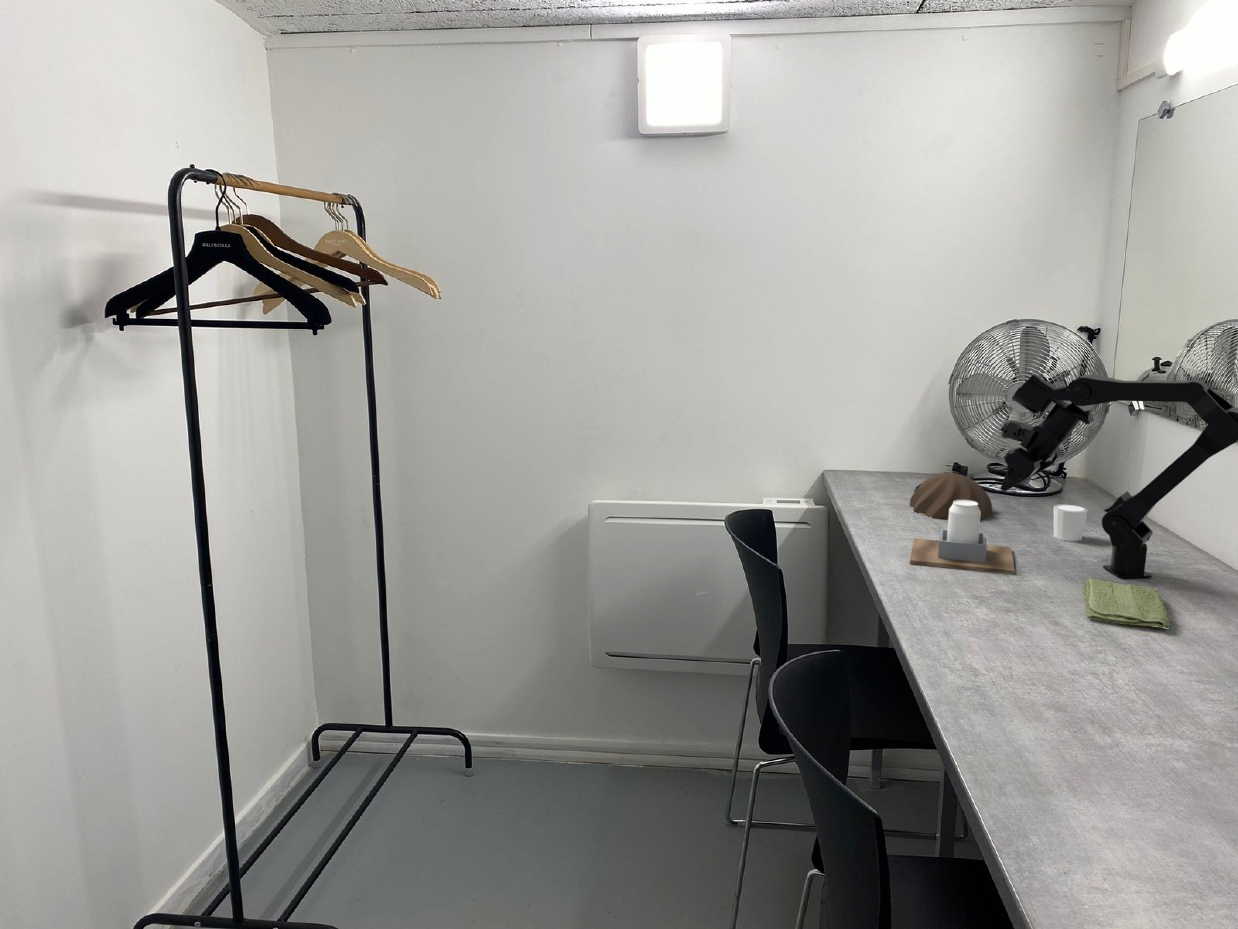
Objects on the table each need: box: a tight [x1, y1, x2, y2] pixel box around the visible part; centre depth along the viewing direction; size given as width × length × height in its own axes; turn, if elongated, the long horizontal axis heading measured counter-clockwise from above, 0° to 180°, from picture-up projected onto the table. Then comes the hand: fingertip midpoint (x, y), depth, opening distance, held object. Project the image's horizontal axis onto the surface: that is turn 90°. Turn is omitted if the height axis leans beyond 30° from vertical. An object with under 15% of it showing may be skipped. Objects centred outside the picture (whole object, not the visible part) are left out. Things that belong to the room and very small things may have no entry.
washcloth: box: [1082, 578, 1172, 629], centre depth 159 cm, size 13×18×3 cm
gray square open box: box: [938, 528, 988, 562], centre depth 188 cm, size 9×9×4 cm
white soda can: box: [947, 500, 981, 544], centre depth 187 cm, size 6×6×12 cm
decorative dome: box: [909, 472, 993, 521], centre depth 224 cm, size 19×20×10 cm
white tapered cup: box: [1053, 503, 1088, 542], centre depth 201 cm, size 7×7×7 cm
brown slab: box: [909, 537, 1016, 575], centre depth 189 cm, size 20×16×1 cm
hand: (1010, 486), depth 191 cm, fingers open, 9 cm apart
